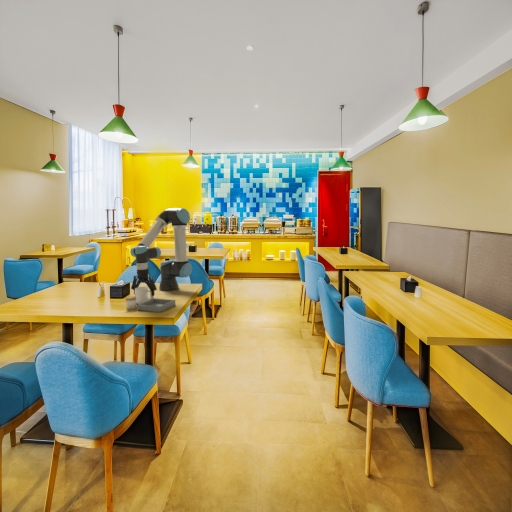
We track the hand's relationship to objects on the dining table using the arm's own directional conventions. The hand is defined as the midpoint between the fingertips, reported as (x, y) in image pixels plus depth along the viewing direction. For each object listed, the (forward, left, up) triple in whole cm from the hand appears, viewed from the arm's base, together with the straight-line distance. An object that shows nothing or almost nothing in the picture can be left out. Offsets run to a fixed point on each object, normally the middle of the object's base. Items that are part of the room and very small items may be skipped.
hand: (144, 299), depth 220 cm
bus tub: (+8, +16, -2) cm, 18 cm away
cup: (0, 0, -2) cm, 2 cm away
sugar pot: (+13, 0, -2) cm, 13 cm away
